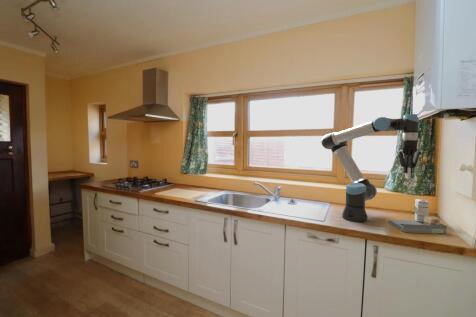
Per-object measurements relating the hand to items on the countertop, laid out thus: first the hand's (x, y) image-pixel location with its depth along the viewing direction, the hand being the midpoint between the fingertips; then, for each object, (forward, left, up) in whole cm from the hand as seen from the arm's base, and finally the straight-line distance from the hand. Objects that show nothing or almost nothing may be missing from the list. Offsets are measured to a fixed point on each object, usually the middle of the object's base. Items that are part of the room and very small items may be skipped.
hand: (407, 178), depth 137 cm
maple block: (+10, -8, -27) cm, 30 cm away
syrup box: (+14, +6, -30) cm, 33 cm away
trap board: (+3, -5, -29) cm, 30 cm away
